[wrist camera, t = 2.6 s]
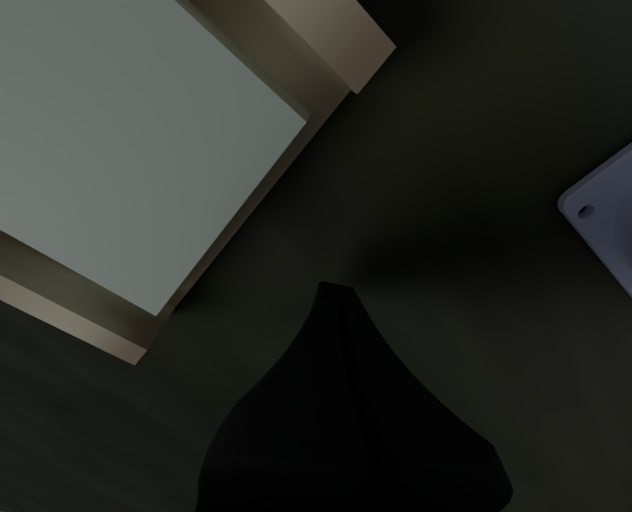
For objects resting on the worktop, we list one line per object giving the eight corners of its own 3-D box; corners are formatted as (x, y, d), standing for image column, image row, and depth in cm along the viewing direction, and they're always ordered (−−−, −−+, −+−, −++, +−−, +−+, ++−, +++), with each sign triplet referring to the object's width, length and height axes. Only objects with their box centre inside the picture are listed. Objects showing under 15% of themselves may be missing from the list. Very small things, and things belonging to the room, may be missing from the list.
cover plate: (310, 113, 10) (306, 122, 8) (178, 285, 13) (155, 316, 12) (3, -175, 7) (-106, -259, 5) (-56, 143, 10) (-132, 156, 9)
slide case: (377, 55, 9) (396, 47, 7) (168, 315, 15) (134, 365, 12) (-159, -544, 5) (-653, -1174, 3) (-163, 128, 11) (-316, 145, 8)
